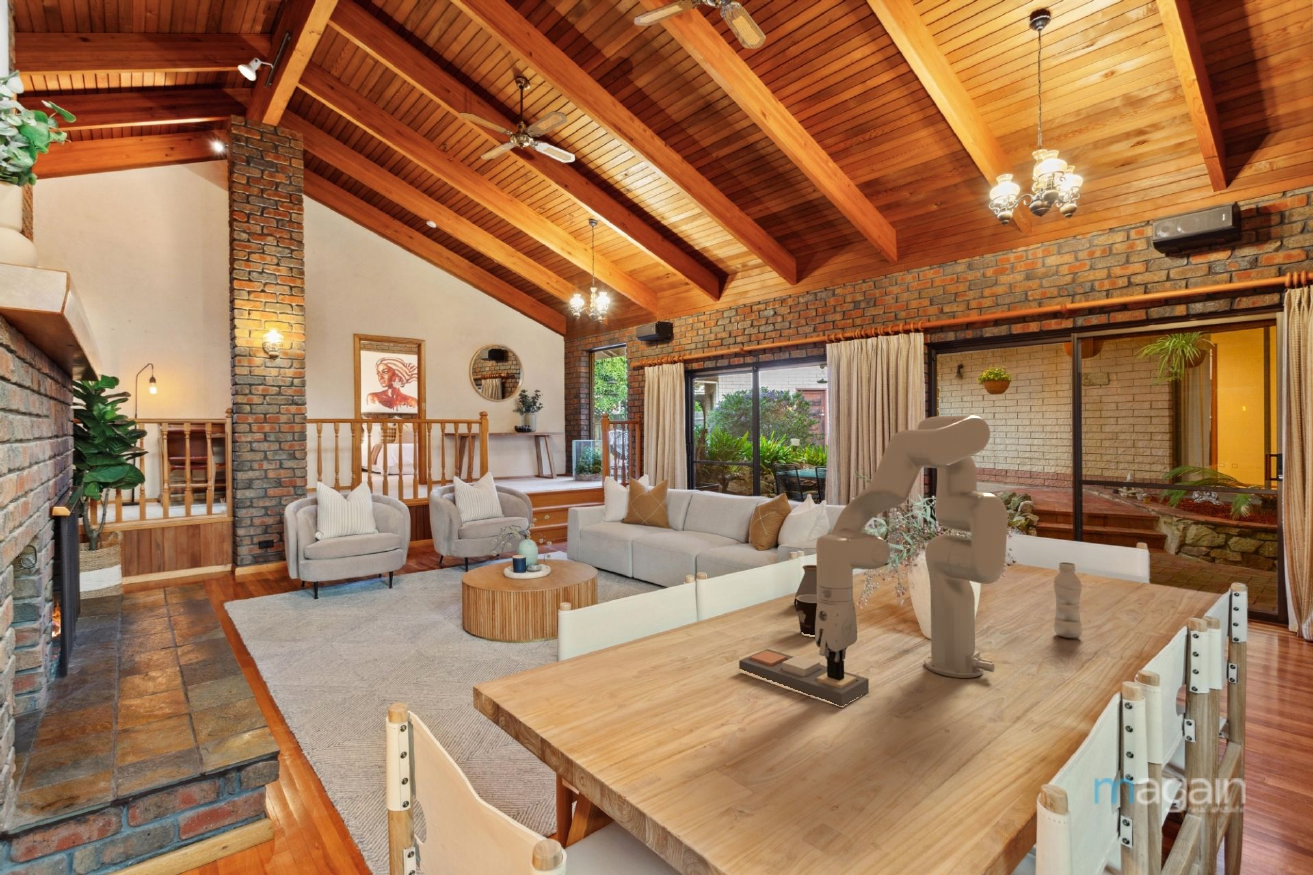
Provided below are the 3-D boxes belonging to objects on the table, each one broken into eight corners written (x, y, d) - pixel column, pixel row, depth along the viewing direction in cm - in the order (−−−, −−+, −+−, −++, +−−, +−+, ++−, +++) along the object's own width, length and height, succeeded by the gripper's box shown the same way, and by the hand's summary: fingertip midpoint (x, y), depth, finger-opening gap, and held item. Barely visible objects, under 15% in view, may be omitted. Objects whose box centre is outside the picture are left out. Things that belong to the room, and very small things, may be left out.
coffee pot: (812, 613, 195) (811, 565, 195) (787, 604, 205) (787, 559, 205) (861, 603, 205) (860, 557, 205) (835, 595, 215) (834, 552, 215)
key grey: (819, 670, 141) (819, 662, 141) (804, 678, 137) (804, 669, 137) (797, 664, 146) (797, 655, 146) (782, 671, 141) (782, 662, 141)
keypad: (868, 692, 135) (868, 678, 135) (842, 708, 128) (842, 693, 128) (767, 660, 155) (767, 648, 155) (739, 673, 147) (739, 660, 147)
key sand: (856, 686, 135) (856, 677, 135) (841, 695, 131) (841, 685, 131) (831, 679, 139) (831, 670, 139) (816, 686, 135) (816, 677, 135)
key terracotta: (786, 665, 148) (786, 656, 148) (771, 672, 144) (771, 663, 144) (766, 658, 152) (766, 650, 152) (750, 665, 148) (750, 656, 148)
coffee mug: (831, 639, 170) (831, 602, 170) (800, 639, 171) (799, 602, 171) (821, 625, 182) (820, 591, 182) (791, 626, 182) (791, 592, 182)
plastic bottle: (1073, 633, 172) (1072, 561, 172) (1087, 641, 165) (1087, 566, 165) (1048, 633, 172) (1047, 561, 172) (1062, 641, 166) (1061, 566, 165)
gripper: (831, 603, 127) (832, 693, 127) (868, 590, 137) (868, 673, 137) (800, 596, 132) (801, 682, 132) (837, 584, 142) (838, 664, 143)
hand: (835, 677), depth 135 cm, fingers closed
